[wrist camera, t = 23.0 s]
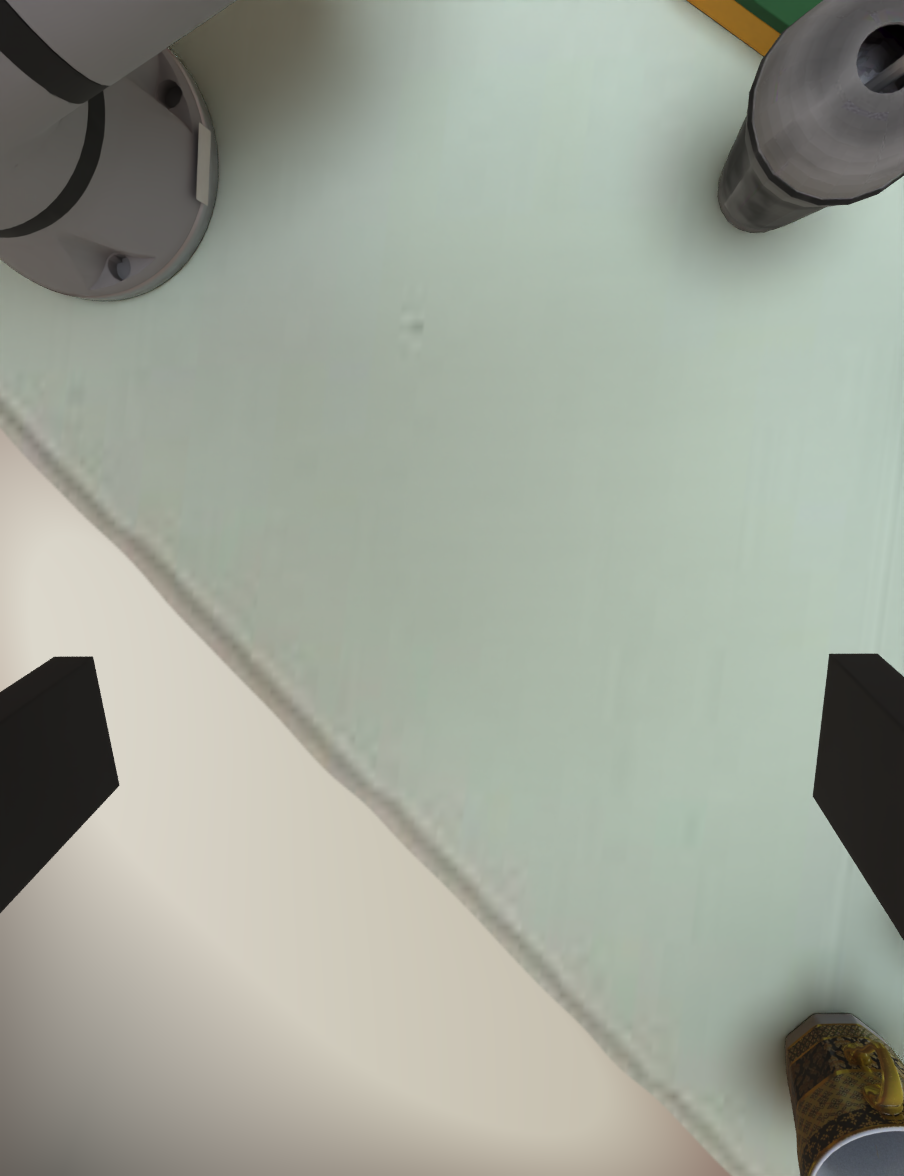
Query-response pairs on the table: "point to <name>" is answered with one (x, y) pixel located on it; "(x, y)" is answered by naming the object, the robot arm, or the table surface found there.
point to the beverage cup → (820, 117)
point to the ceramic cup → (845, 1098)
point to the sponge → (756, 18)
